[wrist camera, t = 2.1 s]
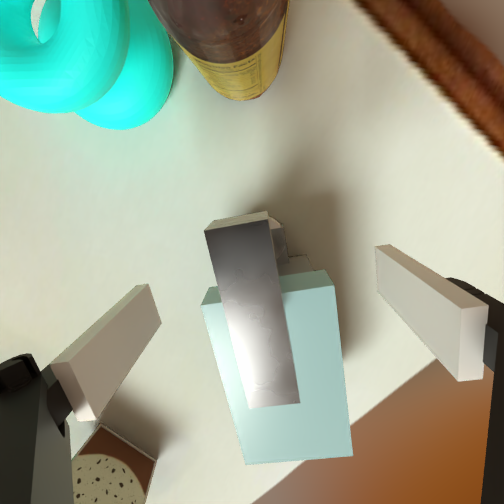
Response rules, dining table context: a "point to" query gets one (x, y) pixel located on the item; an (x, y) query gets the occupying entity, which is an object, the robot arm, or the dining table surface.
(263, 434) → the cover
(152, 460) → the food container
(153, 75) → the donuts
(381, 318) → the dining table surface
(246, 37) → the sauce bottle
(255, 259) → the key
